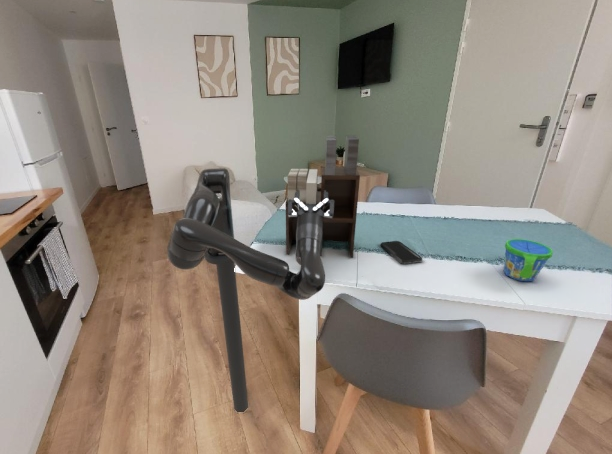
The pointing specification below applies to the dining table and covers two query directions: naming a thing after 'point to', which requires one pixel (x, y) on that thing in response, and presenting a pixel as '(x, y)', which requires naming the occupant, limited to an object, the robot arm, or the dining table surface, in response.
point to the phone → (401, 252)
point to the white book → (311, 186)
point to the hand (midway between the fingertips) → (311, 191)
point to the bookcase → (330, 194)
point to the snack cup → (525, 259)
